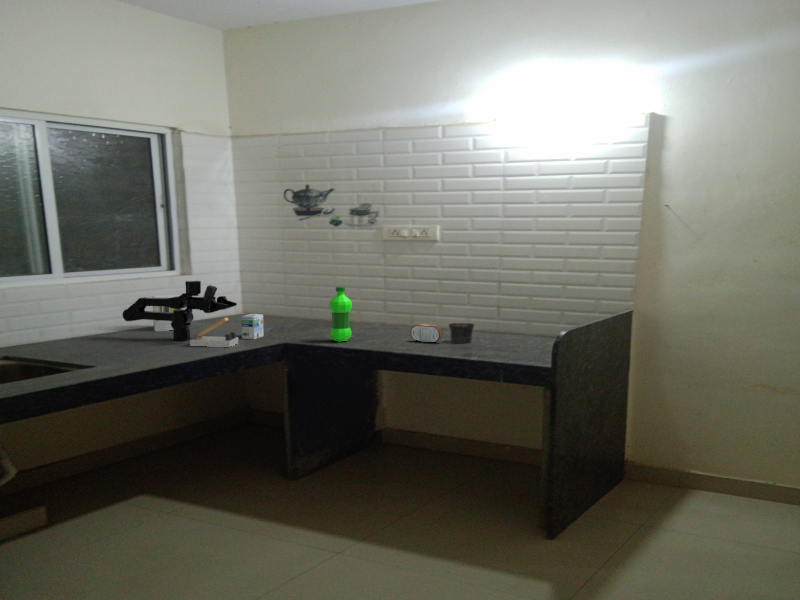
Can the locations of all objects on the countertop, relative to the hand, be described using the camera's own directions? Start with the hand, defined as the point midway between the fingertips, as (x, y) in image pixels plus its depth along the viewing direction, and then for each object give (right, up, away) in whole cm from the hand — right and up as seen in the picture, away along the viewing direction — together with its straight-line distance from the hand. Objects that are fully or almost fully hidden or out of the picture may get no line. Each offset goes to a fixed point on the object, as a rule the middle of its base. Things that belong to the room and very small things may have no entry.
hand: (232, 305), depth 289 cm
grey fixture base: (-6, -18, -8) cm, 20 cm away
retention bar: (-7, -10, -9) cm, 15 cm away
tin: (+88, -17, 0) cm, 90 cm away
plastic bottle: (+49, -17, +2) cm, 52 cm away
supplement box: (-44, -13, +39) cm, 60 cm away
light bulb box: (+6, -16, +13) cm, 21 cm away
